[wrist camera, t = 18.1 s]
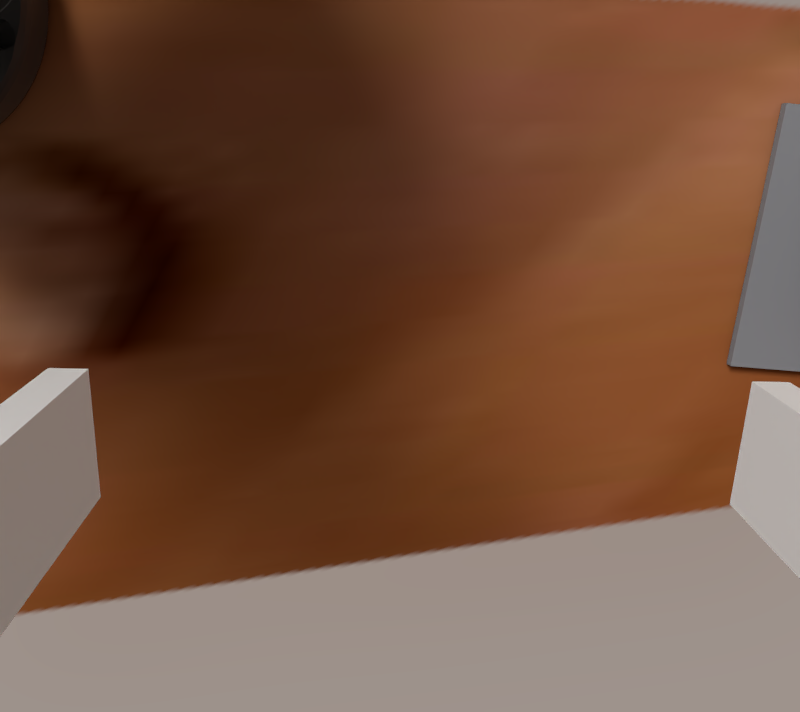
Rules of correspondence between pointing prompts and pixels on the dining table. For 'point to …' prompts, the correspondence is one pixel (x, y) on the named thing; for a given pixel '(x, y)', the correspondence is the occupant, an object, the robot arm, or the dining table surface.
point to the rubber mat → (774, 262)
